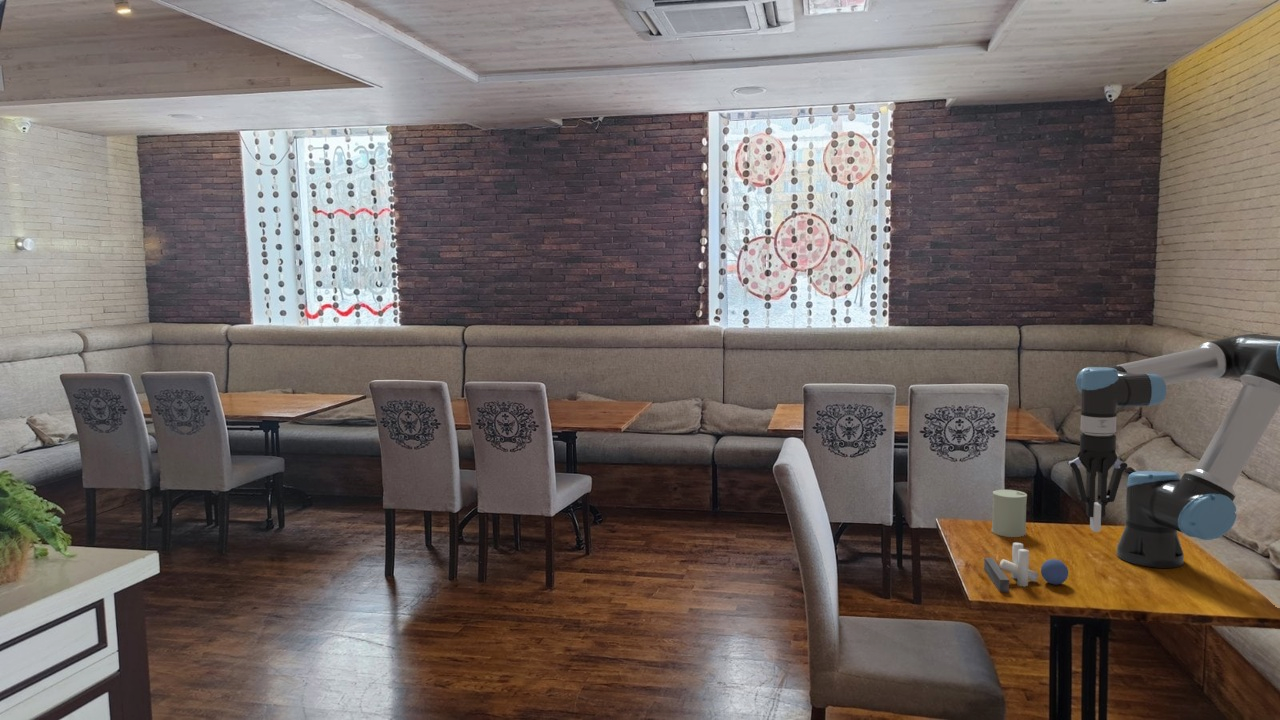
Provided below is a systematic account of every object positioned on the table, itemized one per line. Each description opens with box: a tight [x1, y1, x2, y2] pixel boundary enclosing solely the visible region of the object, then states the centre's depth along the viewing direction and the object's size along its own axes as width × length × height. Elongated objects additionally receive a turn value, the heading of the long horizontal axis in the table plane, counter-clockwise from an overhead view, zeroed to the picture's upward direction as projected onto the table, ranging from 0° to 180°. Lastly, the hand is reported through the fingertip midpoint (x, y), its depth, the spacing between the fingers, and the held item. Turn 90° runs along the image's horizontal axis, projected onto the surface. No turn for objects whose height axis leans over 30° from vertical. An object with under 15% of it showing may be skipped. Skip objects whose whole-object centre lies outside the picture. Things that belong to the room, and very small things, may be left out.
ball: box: [1040, 558, 1069, 585], centre depth 213 cm, size 6×6×6 cm
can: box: [991, 489, 1028, 538], centre depth 254 cm, size 9×9×12 cm
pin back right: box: [1011, 542, 1024, 580], centre depth 217 cm, size 2×2×8 cm
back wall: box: [983, 557, 1010, 593], centre depth 216 cm, size 2×16×3 cm, turn 171°
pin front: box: [999, 558, 1039, 583], centre depth 215 cm, size 2×2×8 cm
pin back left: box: [1016, 548, 1030, 588], centre depth 212 cm, size 2×2×8 cm
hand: (1095, 530), depth 212 cm, fingers closed
